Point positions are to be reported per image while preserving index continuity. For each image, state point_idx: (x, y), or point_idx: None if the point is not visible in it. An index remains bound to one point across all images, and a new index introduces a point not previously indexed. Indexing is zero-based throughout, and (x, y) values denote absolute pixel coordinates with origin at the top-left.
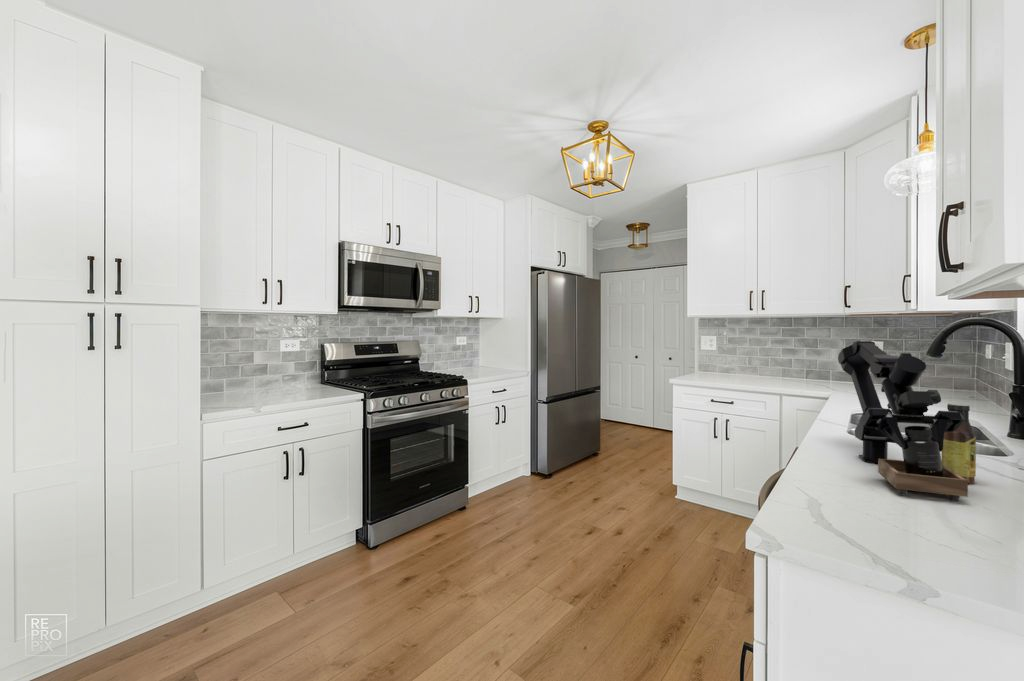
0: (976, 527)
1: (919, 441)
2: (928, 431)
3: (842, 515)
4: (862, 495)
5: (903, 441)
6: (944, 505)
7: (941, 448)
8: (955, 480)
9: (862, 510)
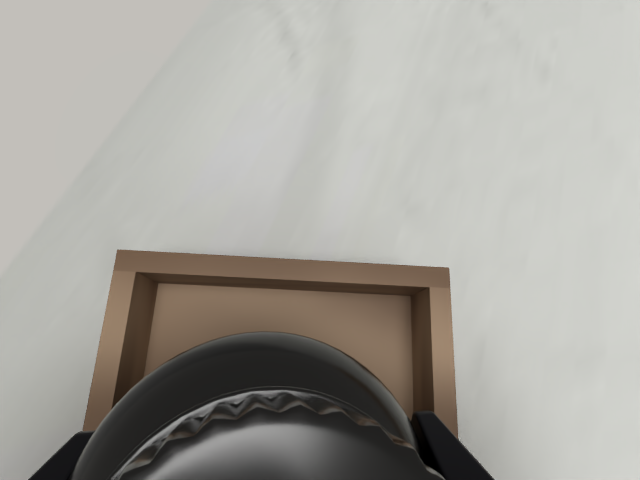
0: (264, 60)
1: (317, 382)
2: (163, 443)
3: (611, 42)
4: (532, 253)
5: (453, 461)
6: (262, 237)
7: (85, 435)
8: (176, 254)
9: (553, 97)
